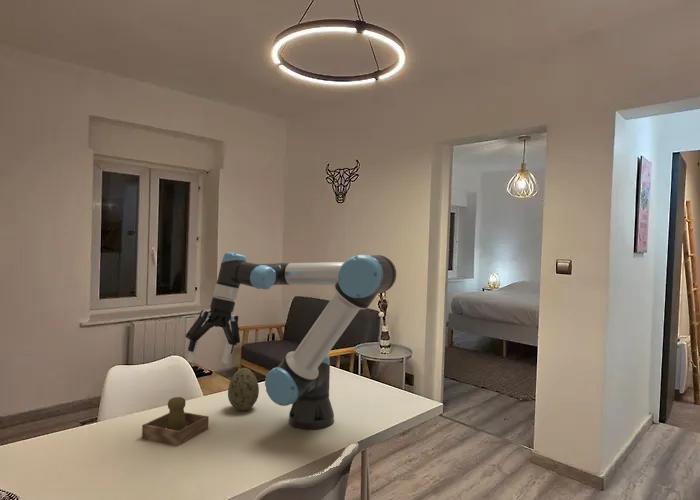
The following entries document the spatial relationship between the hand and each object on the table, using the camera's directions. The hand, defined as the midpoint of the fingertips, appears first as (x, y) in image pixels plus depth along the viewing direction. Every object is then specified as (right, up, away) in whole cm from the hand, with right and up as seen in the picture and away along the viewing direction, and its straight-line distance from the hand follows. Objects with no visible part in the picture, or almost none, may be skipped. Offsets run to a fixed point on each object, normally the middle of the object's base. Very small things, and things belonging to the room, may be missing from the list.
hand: (207, 362), depth 149 cm
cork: (-8, -20, -7) cm, 23 cm away
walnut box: (-8, -20, -7) cm, 23 cm away
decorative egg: (+8, -21, +15) cm, 27 cm away
